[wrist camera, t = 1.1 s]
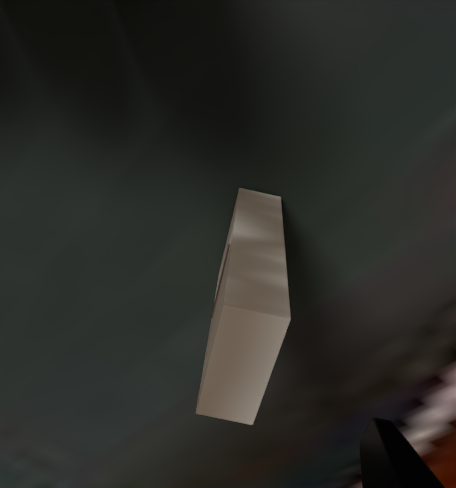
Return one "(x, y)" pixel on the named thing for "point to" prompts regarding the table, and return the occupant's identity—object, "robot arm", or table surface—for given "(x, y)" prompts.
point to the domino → (246, 311)
